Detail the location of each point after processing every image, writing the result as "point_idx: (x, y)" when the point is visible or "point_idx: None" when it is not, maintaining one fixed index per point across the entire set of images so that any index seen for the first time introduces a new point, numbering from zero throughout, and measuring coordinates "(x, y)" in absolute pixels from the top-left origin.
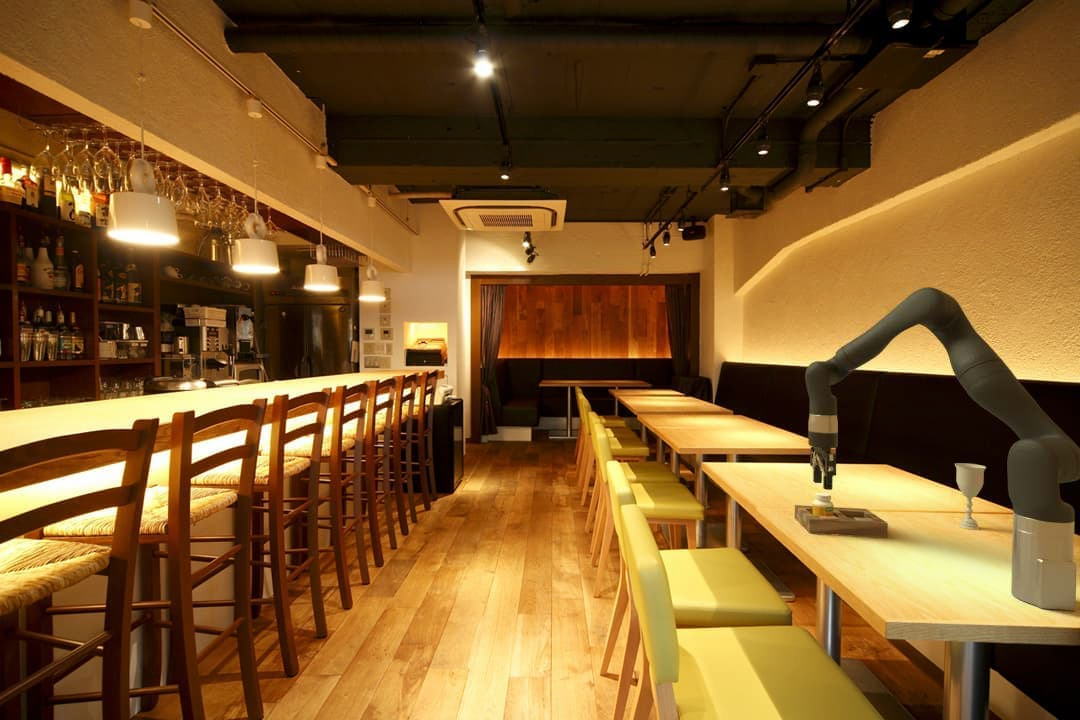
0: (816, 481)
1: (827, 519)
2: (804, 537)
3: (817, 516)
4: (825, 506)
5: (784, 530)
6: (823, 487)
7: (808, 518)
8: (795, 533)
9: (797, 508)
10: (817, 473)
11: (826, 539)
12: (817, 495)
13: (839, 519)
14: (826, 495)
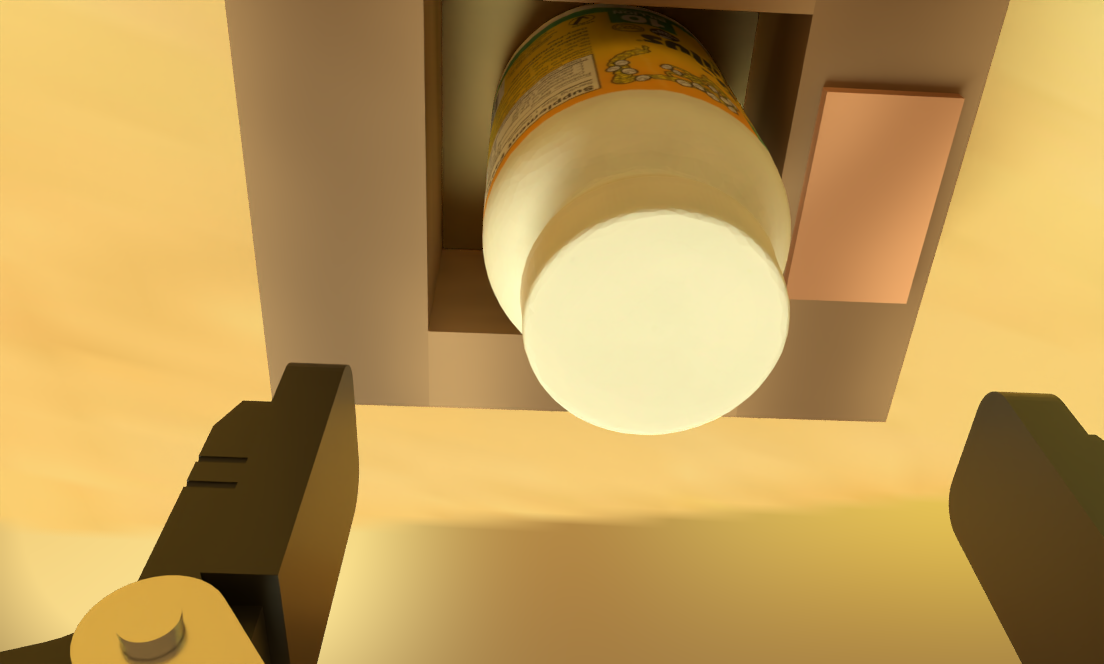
0: (353, 469)
1: (924, 234)
2: (958, 409)
3: (791, 308)
4: (786, 260)
5: (756, 506)
6: (969, 534)
7: (843, 416)
8: (842, 447)
9: (395, 397)
10: (306, 598)
11: (1038, 236)
12: (695, 419)
13: (935, 71)
14: (760, 310)
